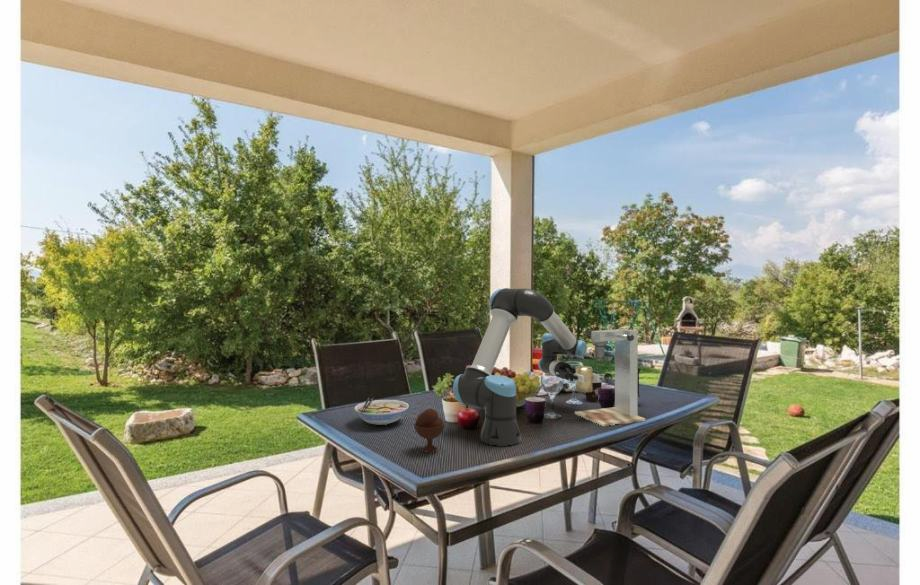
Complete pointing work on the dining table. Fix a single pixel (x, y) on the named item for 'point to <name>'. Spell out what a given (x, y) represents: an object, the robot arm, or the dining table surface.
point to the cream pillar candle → (587, 374)
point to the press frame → (622, 366)
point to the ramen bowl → (381, 411)
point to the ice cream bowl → (429, 427)
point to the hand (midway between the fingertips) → (591, 378)
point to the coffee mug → (593, 391)
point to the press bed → (608, 417)
